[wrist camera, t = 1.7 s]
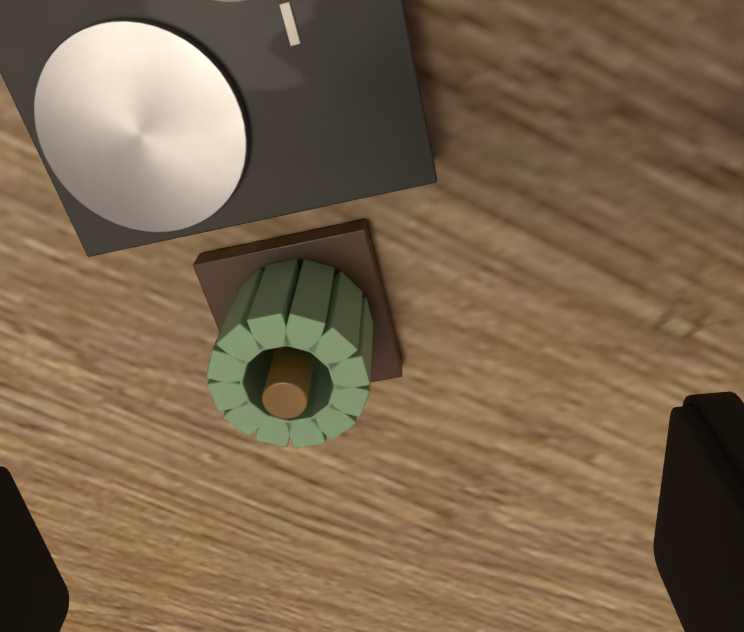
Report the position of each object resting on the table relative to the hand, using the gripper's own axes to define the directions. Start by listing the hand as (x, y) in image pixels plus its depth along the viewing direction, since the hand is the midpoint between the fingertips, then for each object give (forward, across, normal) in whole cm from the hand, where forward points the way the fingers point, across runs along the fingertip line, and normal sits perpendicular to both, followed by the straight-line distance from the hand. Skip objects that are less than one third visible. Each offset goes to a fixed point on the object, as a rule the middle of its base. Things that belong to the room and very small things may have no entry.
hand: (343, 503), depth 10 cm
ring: (+21, +4, +9) cm, 23 cm away
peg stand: (+22, +4, +9) cm, 24 cm away
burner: (+20, +8, -1) cm, 21 cm away
